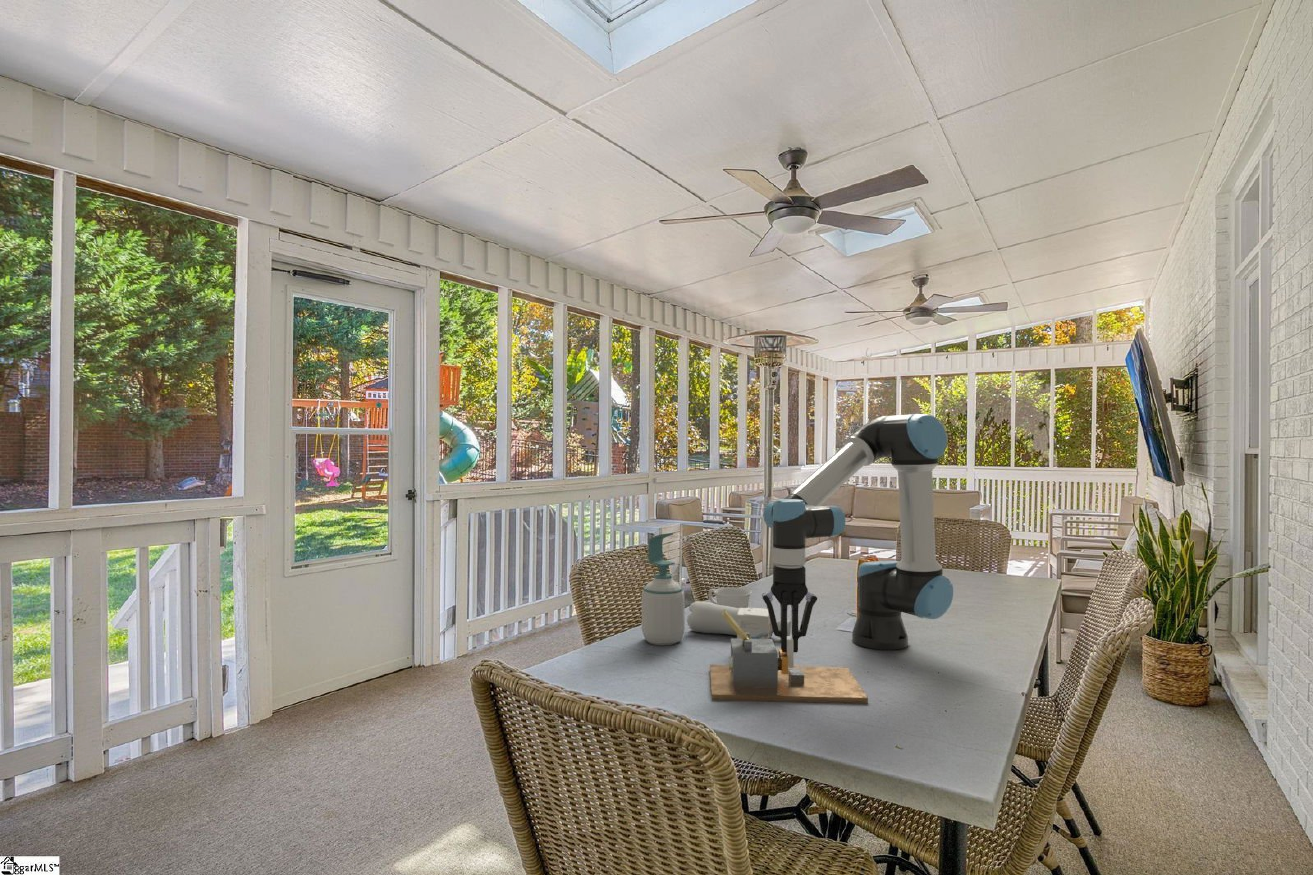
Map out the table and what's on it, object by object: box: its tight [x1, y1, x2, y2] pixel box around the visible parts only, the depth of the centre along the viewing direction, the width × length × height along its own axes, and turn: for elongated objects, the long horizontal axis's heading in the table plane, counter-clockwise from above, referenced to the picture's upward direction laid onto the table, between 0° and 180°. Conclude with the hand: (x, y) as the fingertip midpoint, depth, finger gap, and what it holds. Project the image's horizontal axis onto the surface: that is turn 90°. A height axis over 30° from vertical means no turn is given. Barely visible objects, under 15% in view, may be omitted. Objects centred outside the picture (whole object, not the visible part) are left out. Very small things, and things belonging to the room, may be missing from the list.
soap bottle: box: [641, 532, 686, 646], centre depth 192 cm, size 12×12×31 cm
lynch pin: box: [728, 648, 788, 674], centre depth 157 cm, size 13×6×4 cm, turn 87°
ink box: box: [736, 607, 771, 639], centre depth 180 cm, size 9×8×12 cm
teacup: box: [707, 586, 753, 608], centre depth 213 cm, size 12×15×10 cm
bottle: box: [686, 600, 792, 638], centre depth 198 cm, size 9×9×30 cm
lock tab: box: [722, 609, 749, 641], centre depth 157 cm, size 9×4×1 cm
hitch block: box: [709, 632, 869, 704], centre depth 157 cm, size 34×20×11 cm, turn 87°
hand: (789, 665), depth 157 cm, fingers closed
